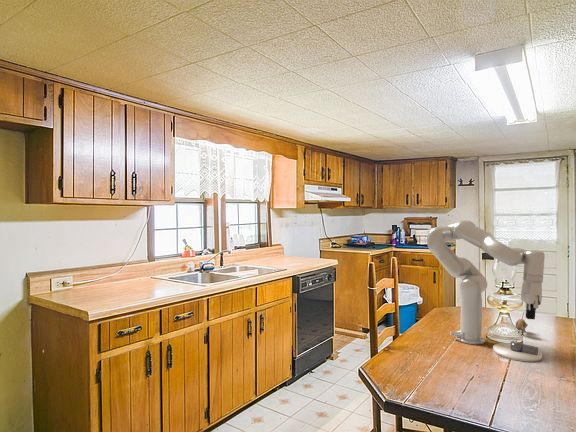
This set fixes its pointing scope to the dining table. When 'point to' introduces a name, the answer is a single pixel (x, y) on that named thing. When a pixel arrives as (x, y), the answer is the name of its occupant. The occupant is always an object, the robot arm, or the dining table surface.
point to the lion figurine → (521, 325)
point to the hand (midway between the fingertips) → (530, 318)
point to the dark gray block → (523, 348)
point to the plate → (515, 353)
